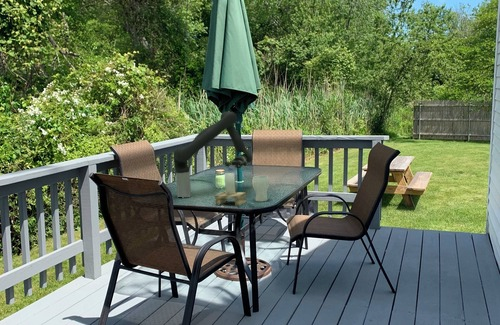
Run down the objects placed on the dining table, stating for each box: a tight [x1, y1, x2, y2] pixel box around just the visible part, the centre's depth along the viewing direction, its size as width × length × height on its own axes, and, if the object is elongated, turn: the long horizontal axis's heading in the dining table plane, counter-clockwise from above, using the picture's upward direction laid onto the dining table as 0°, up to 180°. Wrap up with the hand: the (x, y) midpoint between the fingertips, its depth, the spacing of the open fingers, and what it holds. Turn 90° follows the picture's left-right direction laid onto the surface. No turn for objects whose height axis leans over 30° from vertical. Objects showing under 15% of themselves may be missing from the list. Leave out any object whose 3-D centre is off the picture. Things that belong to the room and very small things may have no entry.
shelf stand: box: [214, 191, 247, 207], centre depth 317 cm, size 16×12×6 cm
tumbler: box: [224, 172, 236, 195], centre depth 315 cm, size 6×6×13 cm
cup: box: [251, 175, 270, 202], centre depth 321 cm, size 11×11×15 cm
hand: (233, 165), depth 329 cm, fingers open, 8 cm apart
